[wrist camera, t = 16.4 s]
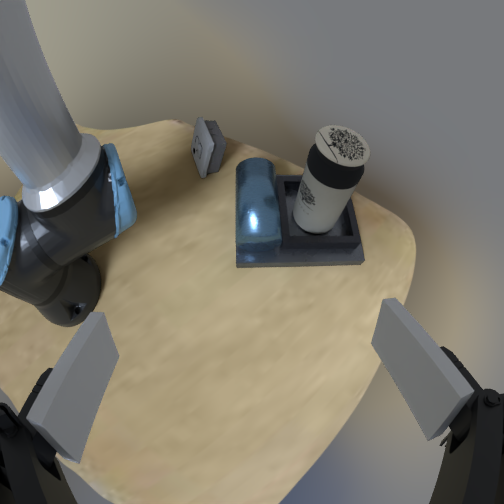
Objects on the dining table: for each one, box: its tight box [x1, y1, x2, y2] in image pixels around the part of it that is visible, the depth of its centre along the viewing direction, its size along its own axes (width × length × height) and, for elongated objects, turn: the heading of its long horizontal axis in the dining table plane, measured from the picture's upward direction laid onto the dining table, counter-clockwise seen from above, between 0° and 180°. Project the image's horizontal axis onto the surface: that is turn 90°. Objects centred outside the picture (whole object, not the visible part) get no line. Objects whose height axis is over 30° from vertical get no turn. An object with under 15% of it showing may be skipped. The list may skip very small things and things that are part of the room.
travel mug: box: [293, 125, 370, 234], centre depth 40 cm, size 8×8×18 cm
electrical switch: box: [191, 117, 227, 178], centre depth 51 cm, size 9×5×9 cm, turn 21°
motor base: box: [236, 158, 365, 268], centre depth 46 cm, size 22×18×9 cm
